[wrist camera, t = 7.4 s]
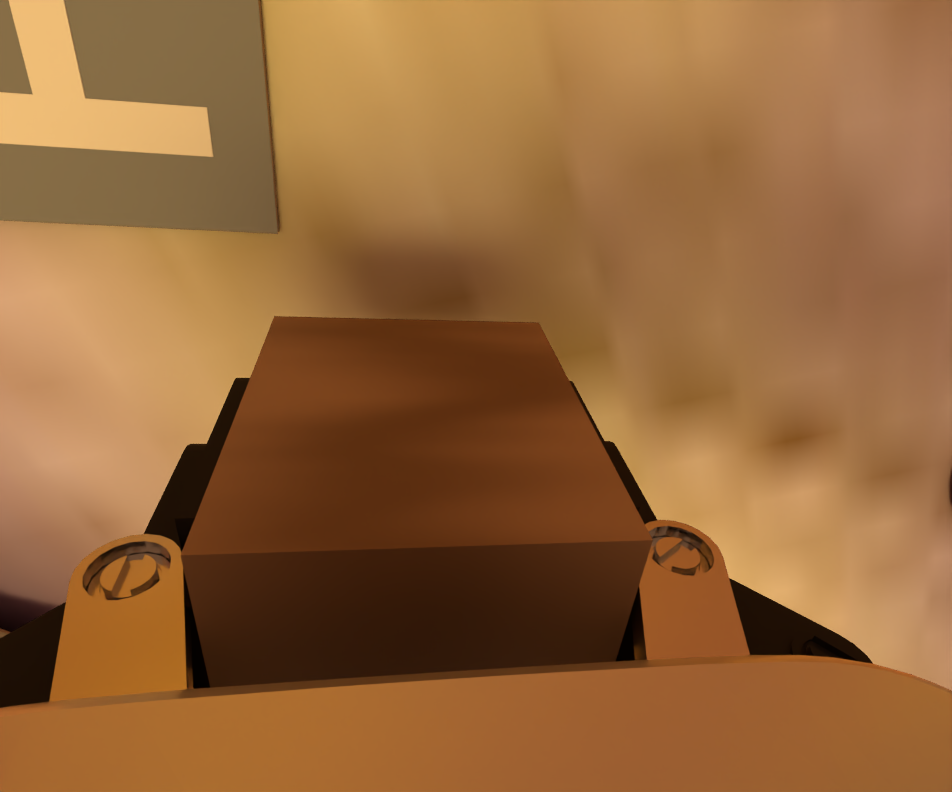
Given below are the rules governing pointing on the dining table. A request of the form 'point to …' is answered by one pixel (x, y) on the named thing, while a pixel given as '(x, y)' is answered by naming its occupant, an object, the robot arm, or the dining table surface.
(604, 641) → the walnut block
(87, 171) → the letter tile
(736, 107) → the dining table surface
